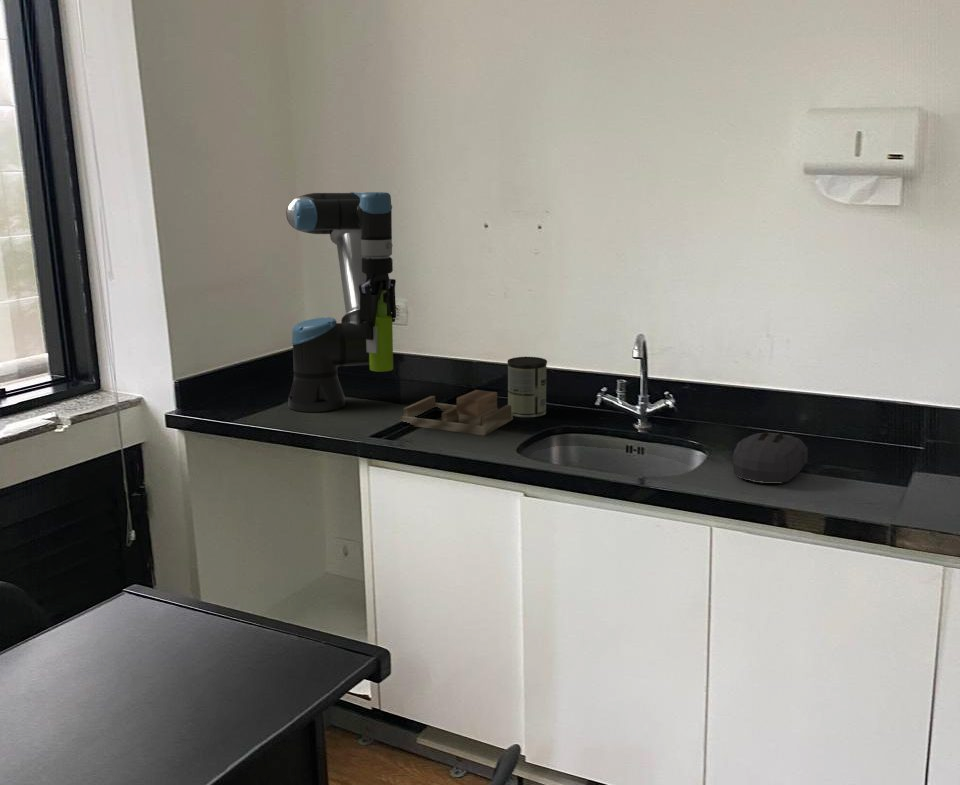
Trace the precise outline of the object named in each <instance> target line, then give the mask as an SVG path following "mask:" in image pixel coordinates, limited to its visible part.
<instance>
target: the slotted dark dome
mask: <svg viewBox="0 0 960 785" xmlns="http://www.w3.org/2000/svg"><path fill="white" fill-rule="evenodd" d="M808 452H809V451H808V446H806V444H805V443H804V442H803V441H802V439H800V438H798V437H796V436H793V435H789V434H784V433H783V432H777V433H776V432H770V431H766V430H764V432H760V433H759V432H758V433H755V434H752V435H751V434H750V435H749V436H747V437H744V438H742V440H740V441H739V442H737V443H736V446H735V448H734V450H733V455H732V456H733V457H732V467H733V474H734V475H735V474H736V475H738V476H740V477H742V478H745V479H751V480H755V481H763V482H786V483H788V482H790V481H791V480H792V479H793V478H794V477H796V476H797V475H798V474H799V473H800V472H801V470H802V469H803V468H804V467H805V465H806V464H807V462H808V459H809V458H808V456H809V455H808ZM790 479H791V480H790ZM787 481H788V482H787Z"/></svg>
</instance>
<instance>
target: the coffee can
mask: <svg viewBox="0 0 960 785" xmlns="http://www.w3.org/2000/svg"><path fill="white" fill-rule="evenodd" d="M547 364H548V360H547V359H546V358H542V357H539V356H519V357H512V358H508V359H507V405H511V412H513V417H517V418H536V417H542V416H545V415H546V414H547Z"/></svg>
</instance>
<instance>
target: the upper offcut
mask: <svg viewBox="0 0 960 785" xmlns="http://www.w3.org/2000/svg"><path fill="white" fill-rule="evenodd" d="M456 405H457V414H463V415H470V416H477V417H478V416H480V415H482V414H485V413H487V412H489V411H491V410H493V409H496V408H498V392H497V391H487V390H481V389H475V390H473V391H470V392H468V393H466V394H462V395H459V396H458V397H456Z"/></svg>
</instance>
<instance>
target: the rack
mask: <svg viewBox="0 0 960 785" xmlns="http://www.w3.org/2000/svg"><path fill="white" fill-rule="evenodd" d="M434 407H438V408H440V409H441V411H443V412H441V420H439V419H431V418H424V417H422V418H417V417H415V416H418V415H420V414H422V413H424V412H425V411H427V410H429V409H431V408H434ZM402 414H403V416H401V417H400V418H401V419H400V421H403V422H407V423H410V424H412V425H414V426H413V427H416V428H417V427H418V428H425V429H431V430H441V431H446V432H455V433H461V434H468V435H477V436H486V435H488V434H490V433H492V432H493V431H495V430H497V429H498V428H500V427H502V426H504V425H506V424H508V423H509V422H511V421H513V420H514V416H513V412H511V405H508V404H506V405H504V406H502V407H500V408H498V410H496V411H494V412H492V413H491V414H489V415H487V416H485V417H483V418H482V426H479V425H471V424H463V423H459V414H457V404H449V403H440V402H436V396H435V395H430V396H428V397H425V398H423V399H421V400H419V401H416V402H415V403H412V404H410V405H408V406H405V407H403V408H402Z"/></svg>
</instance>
